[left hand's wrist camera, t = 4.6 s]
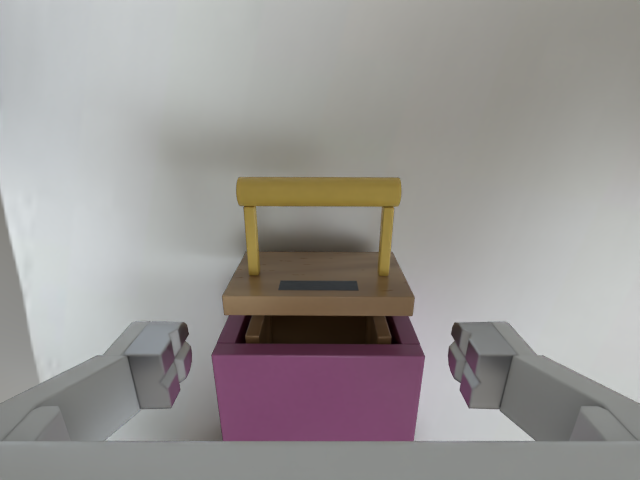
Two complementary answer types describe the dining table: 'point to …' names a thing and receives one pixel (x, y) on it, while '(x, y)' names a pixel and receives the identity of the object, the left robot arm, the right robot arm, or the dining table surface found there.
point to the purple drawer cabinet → (318, 387)
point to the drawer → (318, 269)
